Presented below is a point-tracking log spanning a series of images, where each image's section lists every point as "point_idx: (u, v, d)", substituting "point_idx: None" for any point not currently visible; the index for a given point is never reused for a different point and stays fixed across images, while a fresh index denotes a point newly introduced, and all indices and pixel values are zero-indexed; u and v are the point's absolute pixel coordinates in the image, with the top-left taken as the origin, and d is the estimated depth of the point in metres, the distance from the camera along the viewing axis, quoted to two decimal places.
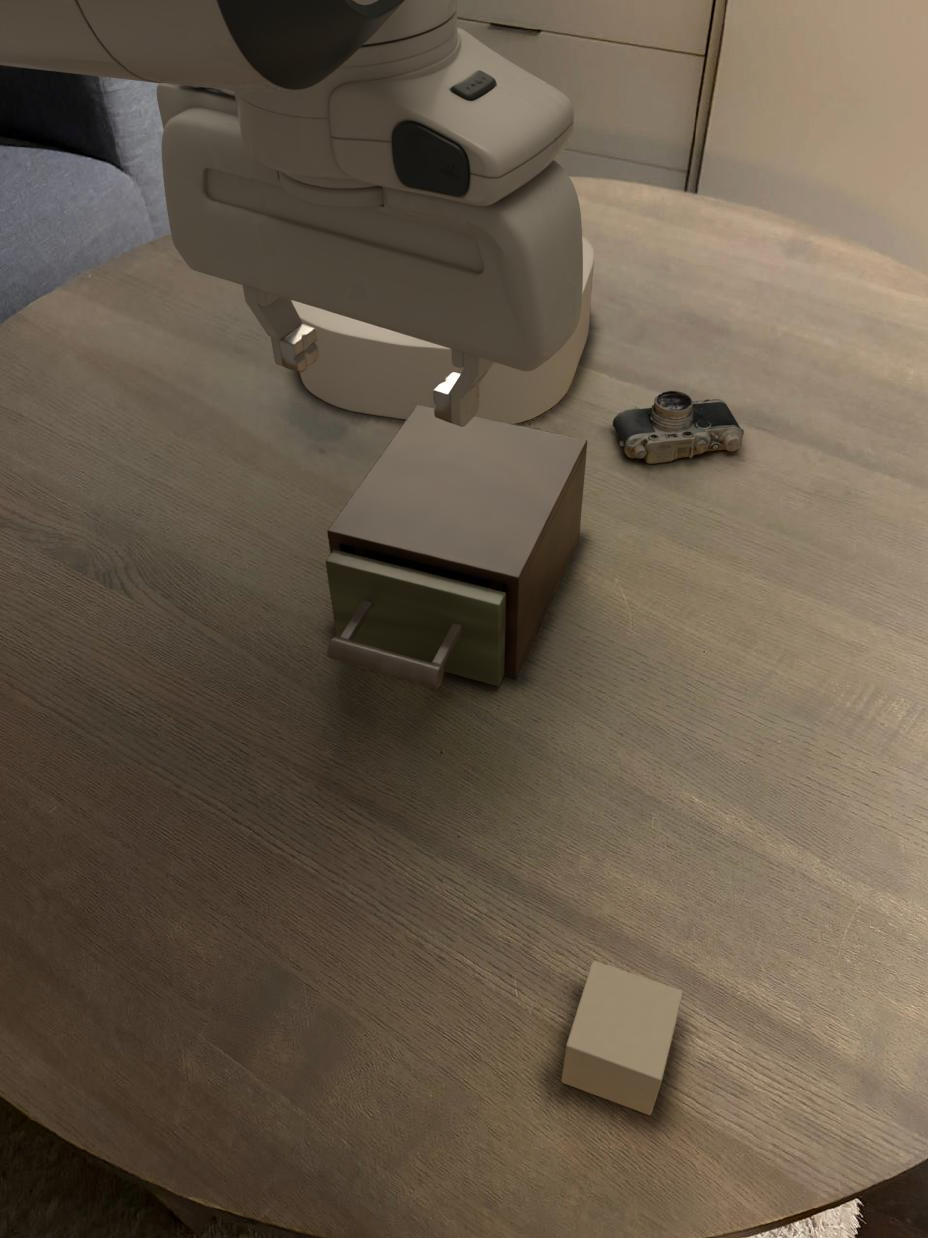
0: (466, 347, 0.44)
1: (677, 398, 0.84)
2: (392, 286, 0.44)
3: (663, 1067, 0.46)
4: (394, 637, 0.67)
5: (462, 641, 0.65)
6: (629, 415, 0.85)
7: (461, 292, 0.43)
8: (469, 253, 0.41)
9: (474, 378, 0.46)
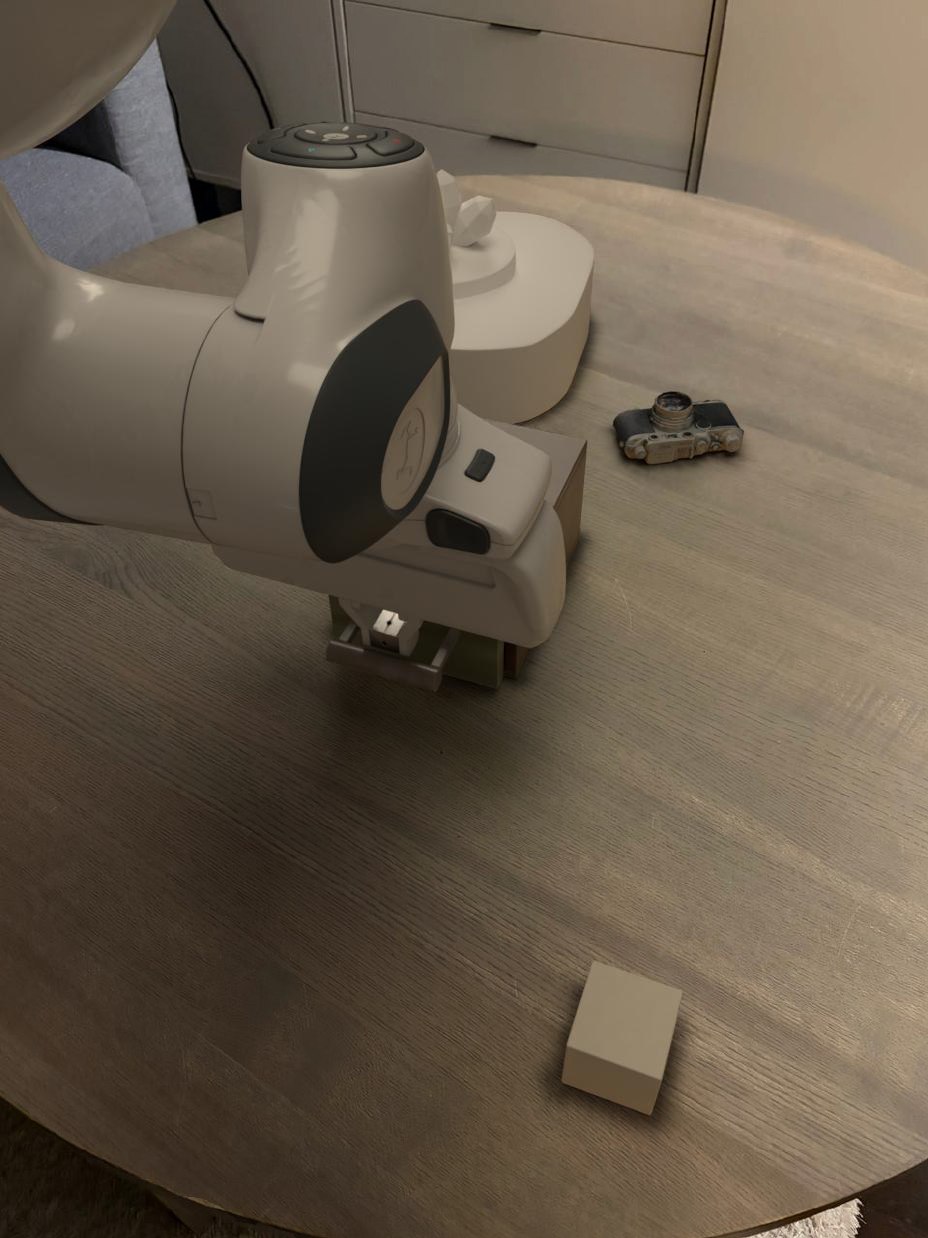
0: (480, 632, 0.56)
1: (677, 398, 0.84)
2: (416, 591, 0.55)
3: (663, 1067, 0.46)
4: None
5: (460, 644, 0.65)
6: (629, 415, 0.85)
7: (476, 599, 0.54)
8: (482, 574, 0.53)
9: (417, 628, 0.59)
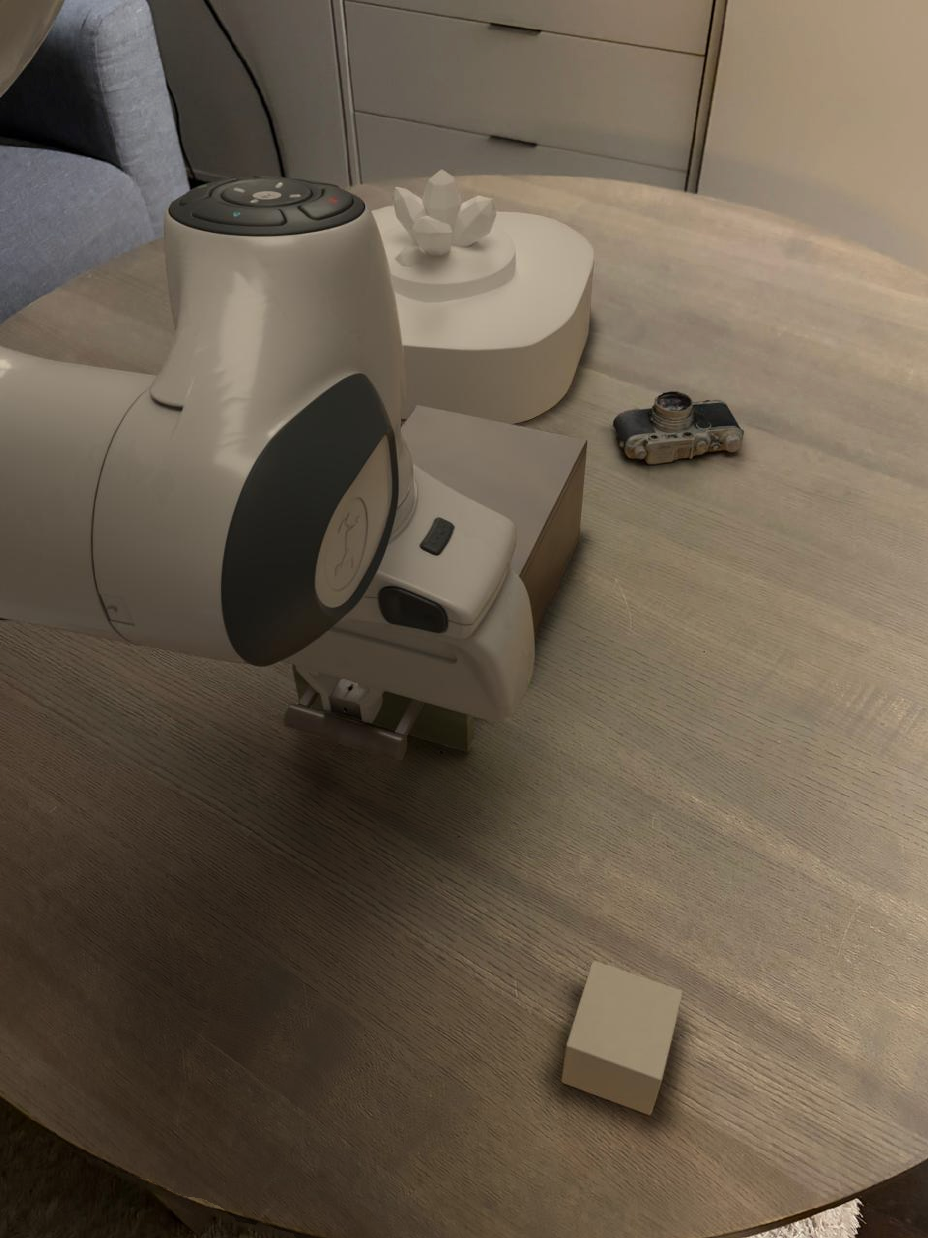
0: (444, 705, 0.52)
1: (677, 399, 0.84)
2: (374, 663, 0.52)
3: (663, 1067, 0.46)
4: None
5: (428, 706, 0.61)
6: (629, 415, 0.85)
7: (438, 672, 0.50)
8: (443, 648, 0.49)
9: (378, 697, 0.55)
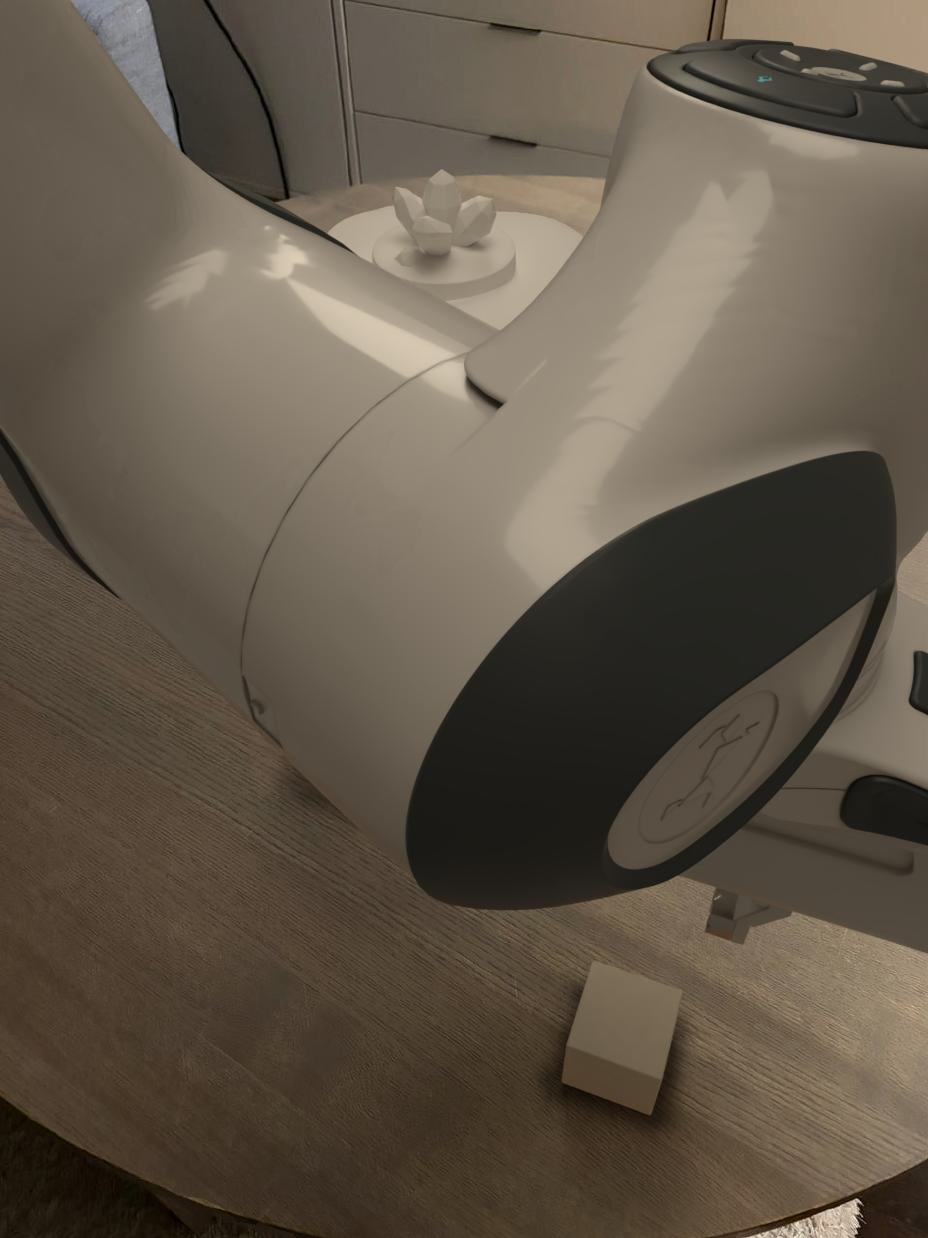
0: (851, 926, 0.34)
1: None
2: (749, 862, 0.33)
3: (663, 1067, 0.46)
4: None
5: None
6: None
7: (865, 885, 0.32)
8: (888, 852, 0.31)
9: (782, 917, 0.36)
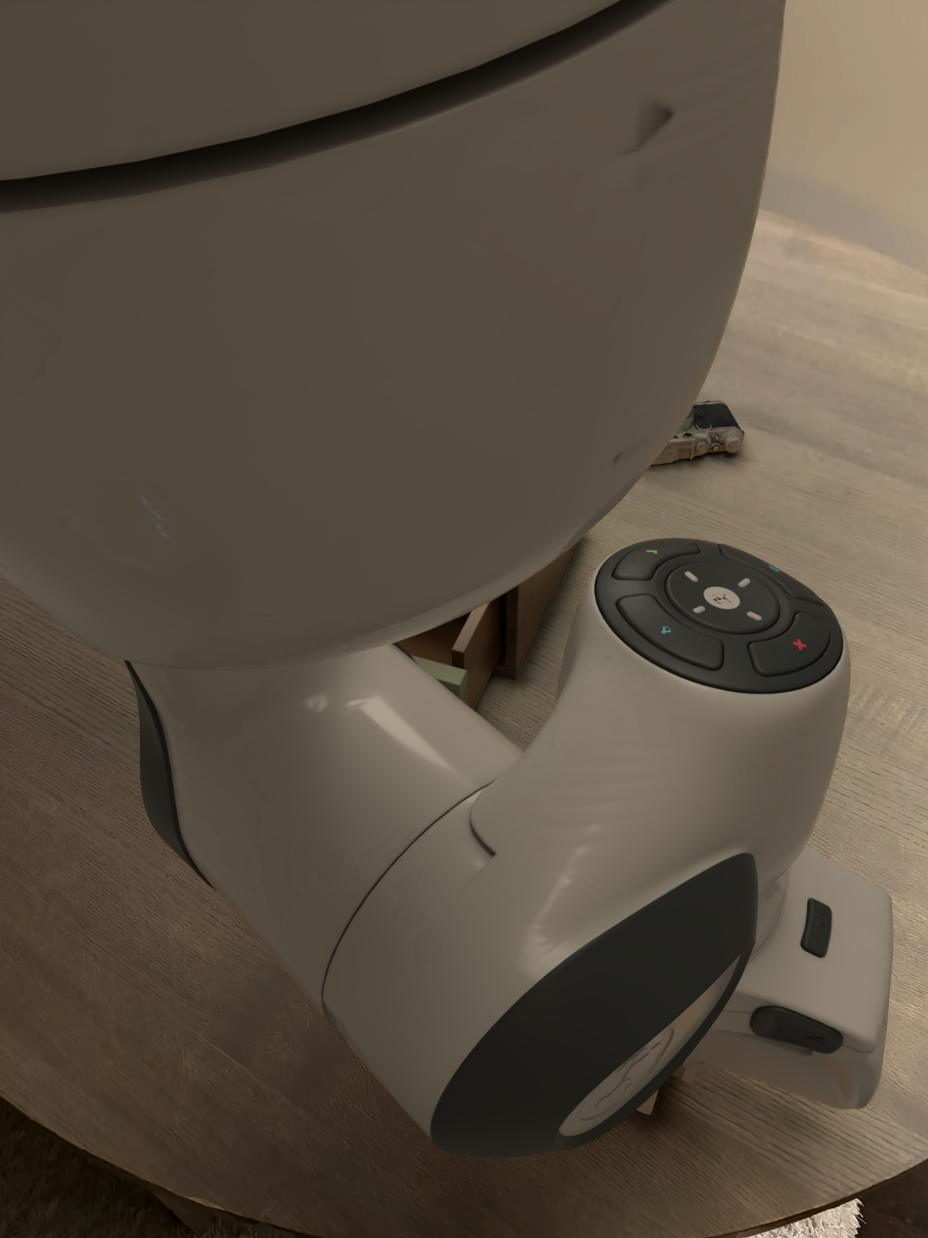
0: (771, 1084, 0.43)
1: None
2: None
3: None
4: None
5: None
6: None
7: (778, 1059, 0.42)
8: None
9: (719, 1068, 0.46)
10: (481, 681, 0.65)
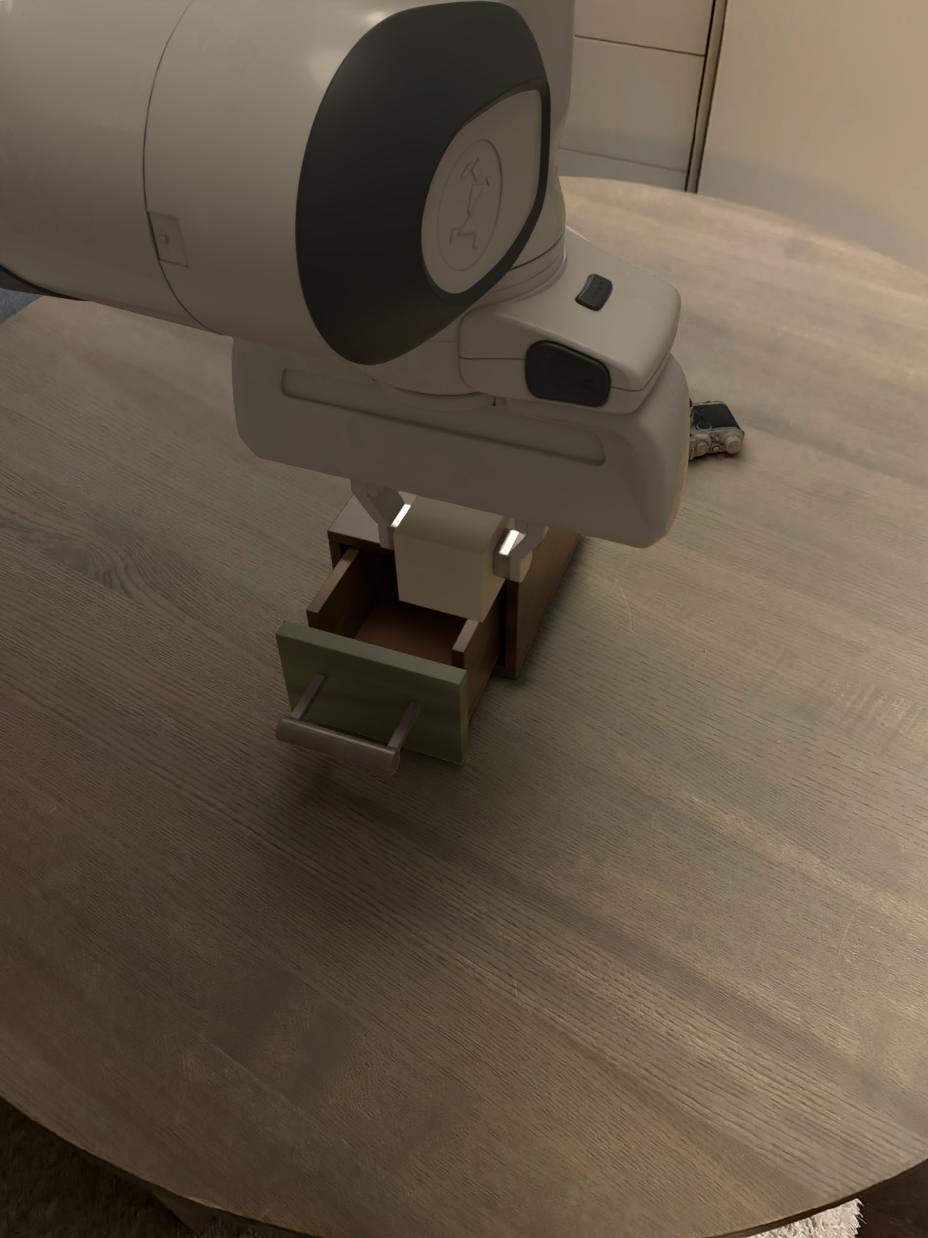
0: (579, 528, 0.44)
1: None
2: (498, 475, 0.43)
3: (485, 546, 0.47)
4: (351, 712, 0.63)
5: (422, 719, 0.60)
6: None
7: (578, 481, 0.42)
8: (588, 446, 0.41)
9: (538, 542, 0.46)
10: (481, 681, 0.65)
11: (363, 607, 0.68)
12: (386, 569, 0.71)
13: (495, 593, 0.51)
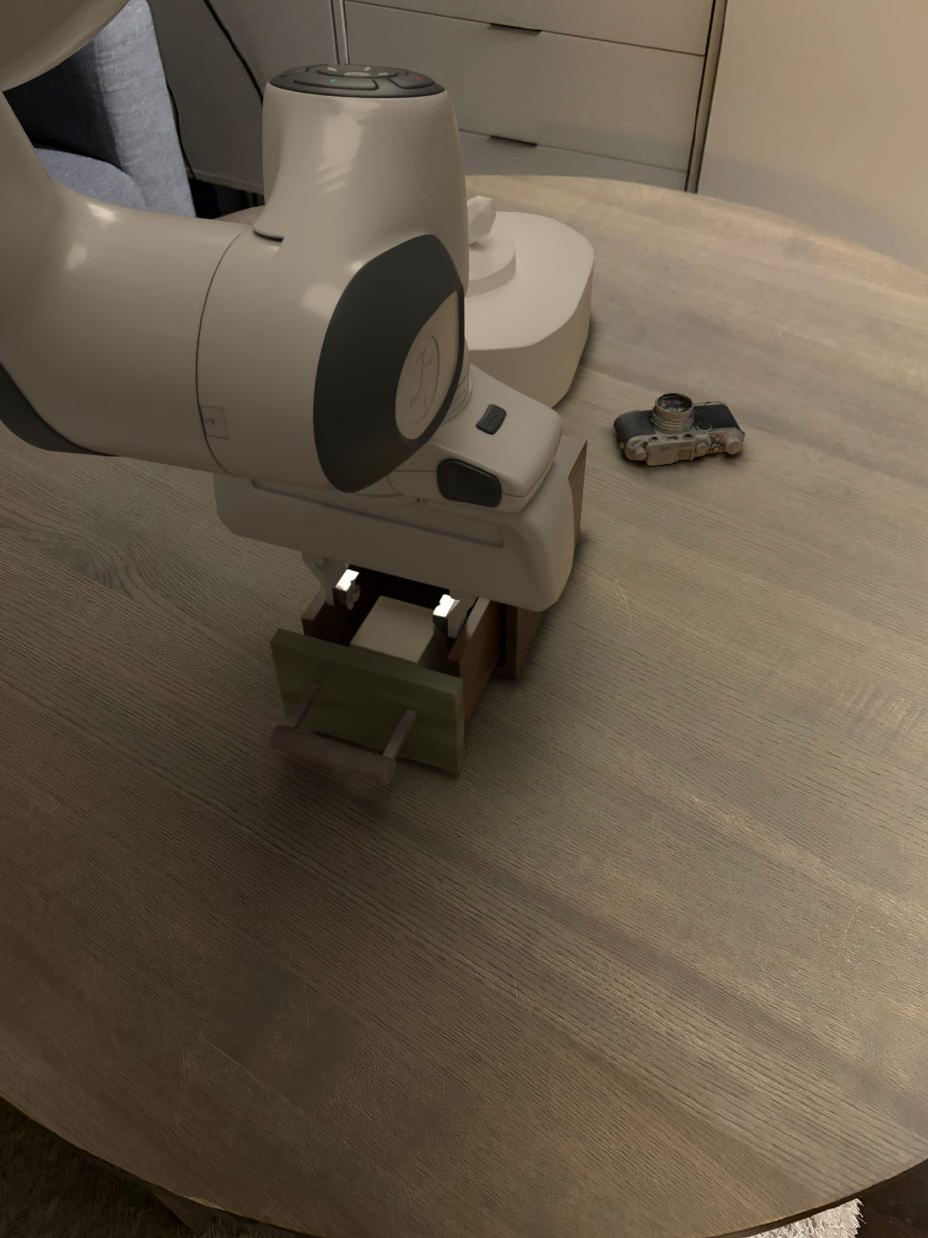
0: (488, 595, 0.55)
1: (678, 400, 0.84)
2: (423, 554, 0.55)
3: (420, 655, 0.61)
4: (346, 720, 0.62)
5: (417, 727, 0.60)
6: (630, 417, 0.85)
7: (485, 559, 0.54)
8: (491, 533, 0.53)
9: (469, 607, 0.58)
10: (477, 689, 0.64)
11: (359, 614, 0.68)
12: (382, 575, 0.70)
13: None
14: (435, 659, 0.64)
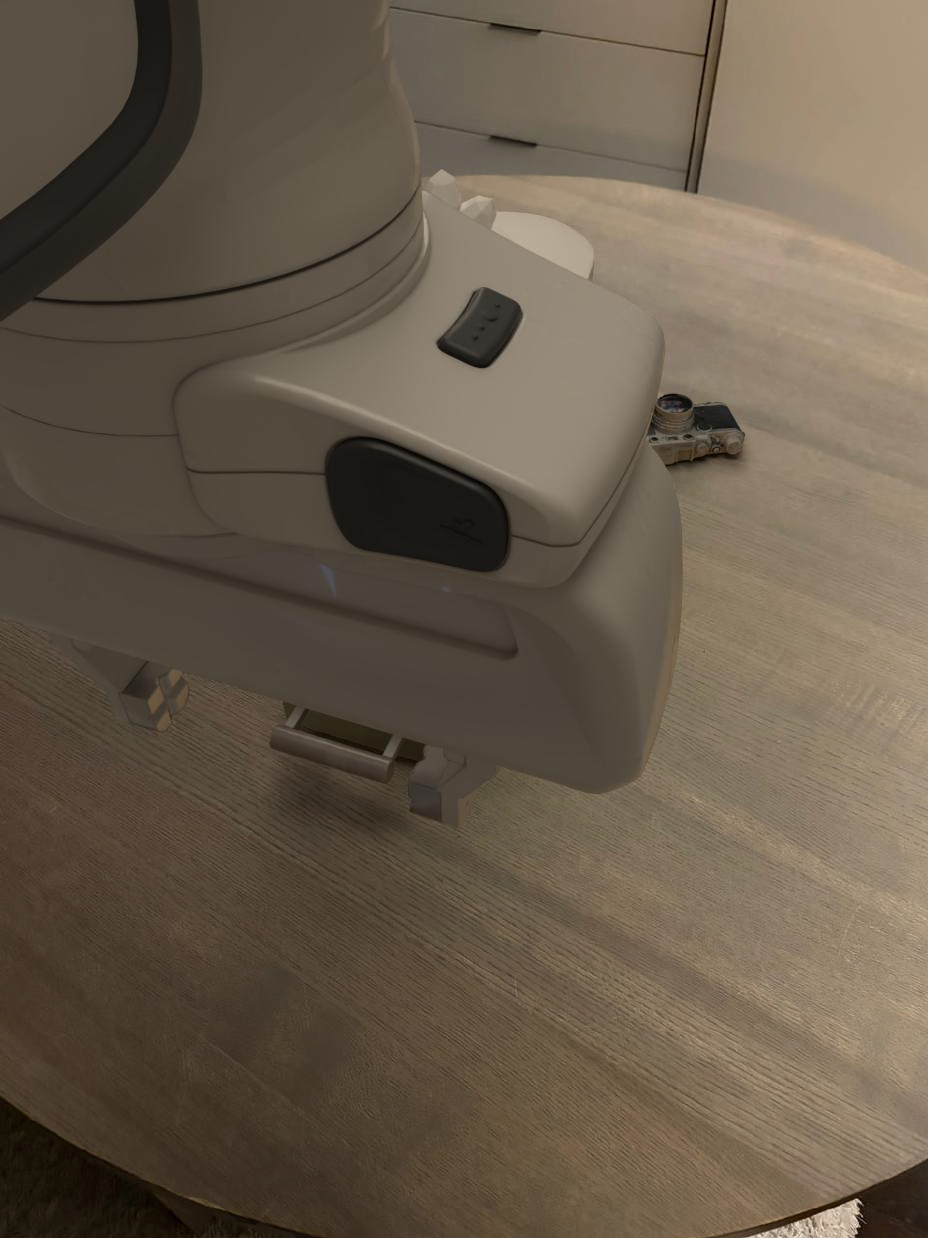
0: (479, 755, 0.24)
1: (678, 401, 0.84)
2: (328, 660, 0.23)
3: None
4: None
5: None
6: None
7: (470, 681, 0.22)
8: (485, 623, 0.21)
9: (487, 779, 0.26)
10: None
11: None
12: None
13: None
14: None
